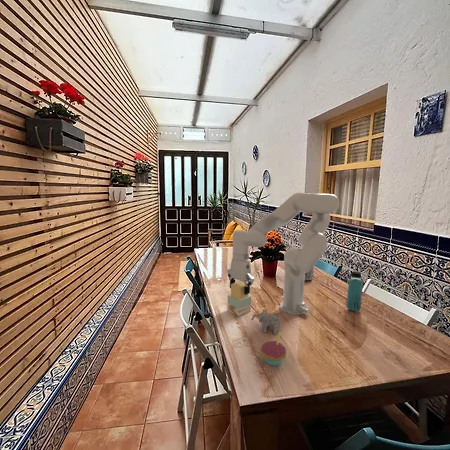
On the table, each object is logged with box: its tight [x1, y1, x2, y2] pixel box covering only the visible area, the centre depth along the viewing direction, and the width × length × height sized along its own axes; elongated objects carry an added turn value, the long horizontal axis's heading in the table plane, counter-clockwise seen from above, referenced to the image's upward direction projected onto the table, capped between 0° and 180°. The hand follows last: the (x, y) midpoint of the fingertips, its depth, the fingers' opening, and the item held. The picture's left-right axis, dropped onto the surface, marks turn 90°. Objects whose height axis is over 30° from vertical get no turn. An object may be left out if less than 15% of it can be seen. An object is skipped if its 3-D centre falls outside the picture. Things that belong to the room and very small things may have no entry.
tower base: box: [226, 303, 252, 318], centre depth 126 cm, size 8×8×4 cm
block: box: [230, 280, 249, 300], centre depth 124 cm, size 6×6×6 cm
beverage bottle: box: [346, 271, 363, 312], centre depth 127 cm, size 6×7×20 cm
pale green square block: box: [227, 293, 252, 309], centre depth 125 cm, size 8×8×4 cm
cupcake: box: [260, 330, 287, 366], centre depth 88 cm, size 9×8×12 cm
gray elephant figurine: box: [250, 308, 281, 336], centre depth 109 cm, size 9×12×8 cm
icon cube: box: [304, 267, 314, 281], centre depth 174 cm, size 10×10×10 cm
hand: (239, 290), depth 125 cm, fingers open, 9 cm apart
